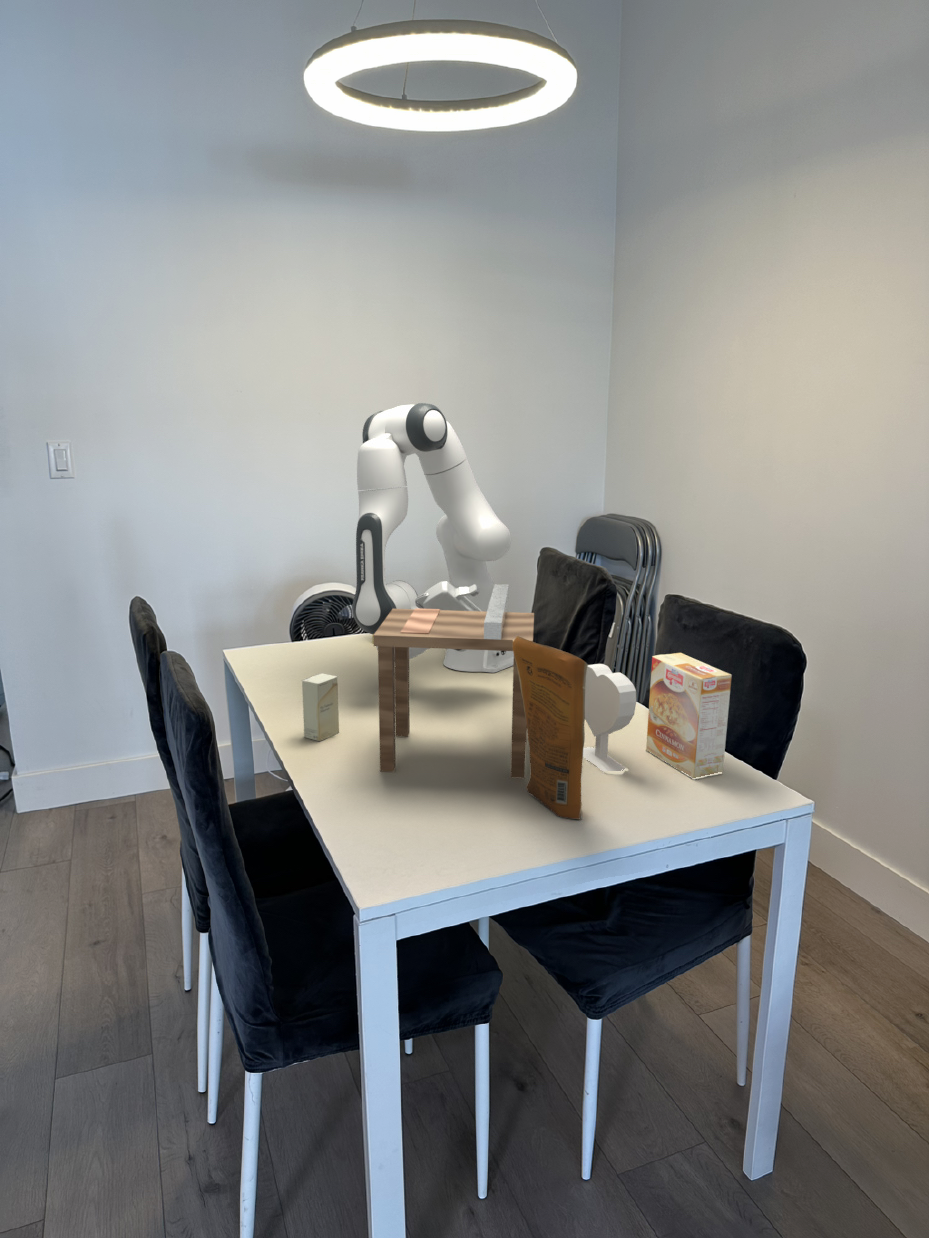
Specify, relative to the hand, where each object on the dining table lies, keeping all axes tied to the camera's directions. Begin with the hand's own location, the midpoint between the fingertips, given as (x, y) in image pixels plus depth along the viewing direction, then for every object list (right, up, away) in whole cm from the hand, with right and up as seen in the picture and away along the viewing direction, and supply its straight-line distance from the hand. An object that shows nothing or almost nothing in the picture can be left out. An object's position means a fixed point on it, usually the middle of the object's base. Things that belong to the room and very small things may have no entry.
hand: (490, 599), depth 186 cm
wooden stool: (-7, -30, -21) cm, 37 cm away
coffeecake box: (+36, -32, -24) cm, 53 cm away
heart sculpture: (+20, -31, -23) cm, 44 cm away
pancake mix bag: (+9, -36, -40) cm, 54 cm away
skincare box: (-35, -28, -12) cm, 46 cm away
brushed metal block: (+1, -4, -22) cm, 22 cm away
